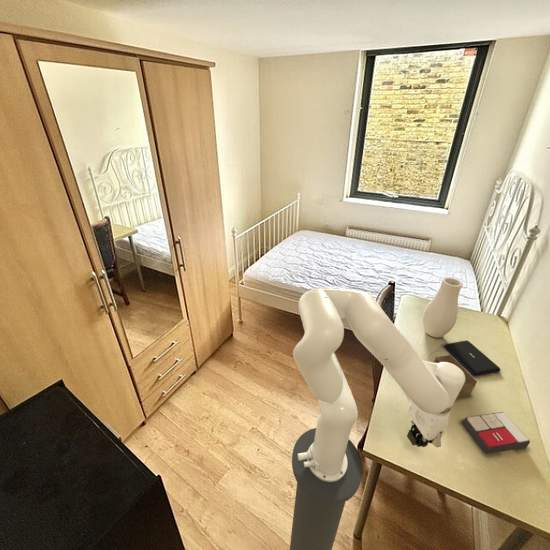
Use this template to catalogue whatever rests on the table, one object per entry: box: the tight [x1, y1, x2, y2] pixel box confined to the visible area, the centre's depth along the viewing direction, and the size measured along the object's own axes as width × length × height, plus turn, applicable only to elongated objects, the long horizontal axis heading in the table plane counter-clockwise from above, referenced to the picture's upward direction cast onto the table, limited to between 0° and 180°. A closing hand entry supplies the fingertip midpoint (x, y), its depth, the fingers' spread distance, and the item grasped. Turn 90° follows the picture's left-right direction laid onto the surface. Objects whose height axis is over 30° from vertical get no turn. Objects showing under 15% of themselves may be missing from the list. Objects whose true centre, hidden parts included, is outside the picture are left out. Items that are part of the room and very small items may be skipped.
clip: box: [406, 427, 423, 447], centre depth 90 cm, size 3×6×5 cm, turn 102°
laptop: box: [443, 340, 501, 377], centre depth 129 cm, size 16×20×2 cm
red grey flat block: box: [462, 411, 531, 455], centre depth 98 cm, size 11×4×15 cm
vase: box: [422, 276, 464, 338], centre depth 137 cm, size 14×14×30 cm
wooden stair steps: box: [432, 354, 478, 400], centre depth 114 cm, size 21×14×8 cm, turn 102°
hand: (417, 438), depth 91 cm, fingers closed on clip, 3 cm apart
